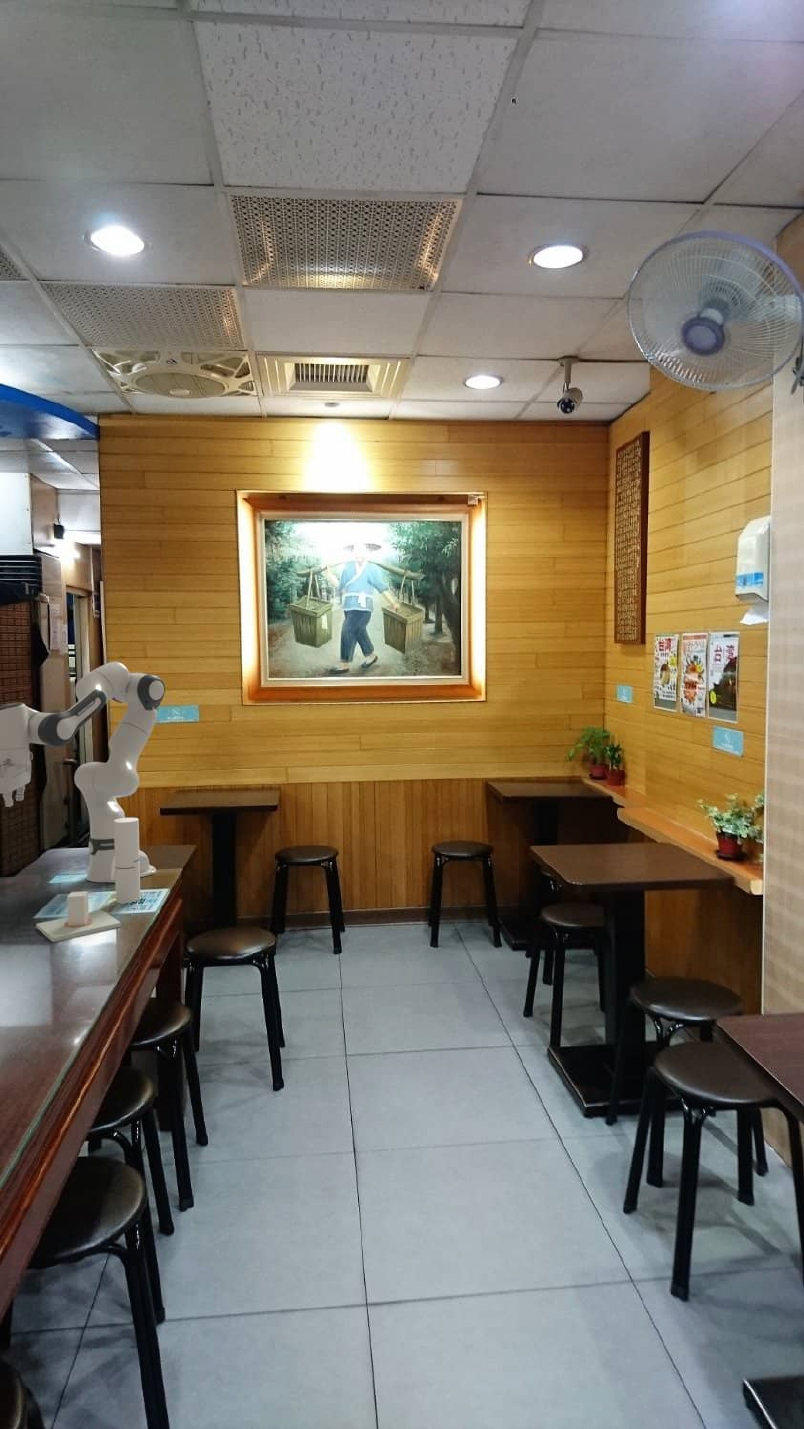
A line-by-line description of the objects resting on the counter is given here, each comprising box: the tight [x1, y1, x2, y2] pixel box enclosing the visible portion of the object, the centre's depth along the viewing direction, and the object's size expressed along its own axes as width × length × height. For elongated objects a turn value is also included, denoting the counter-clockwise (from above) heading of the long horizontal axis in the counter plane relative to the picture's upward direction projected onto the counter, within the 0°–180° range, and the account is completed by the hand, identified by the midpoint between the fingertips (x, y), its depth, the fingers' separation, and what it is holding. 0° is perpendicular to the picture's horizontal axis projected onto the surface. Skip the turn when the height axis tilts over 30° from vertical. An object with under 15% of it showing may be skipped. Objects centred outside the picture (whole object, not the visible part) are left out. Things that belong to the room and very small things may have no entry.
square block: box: [66, 890, 90, 926], centre depth 215 cm, size 4×4×8 cm
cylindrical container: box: [114, 817, 141, 904], centre depth 238 cm, size 7×7×25 cm
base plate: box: [35, 909, 122, 943], centre depth 215 cm, size 18×14×6 cm
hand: (14, 803), depth 232 cm, fingers open, 8 cm apart
